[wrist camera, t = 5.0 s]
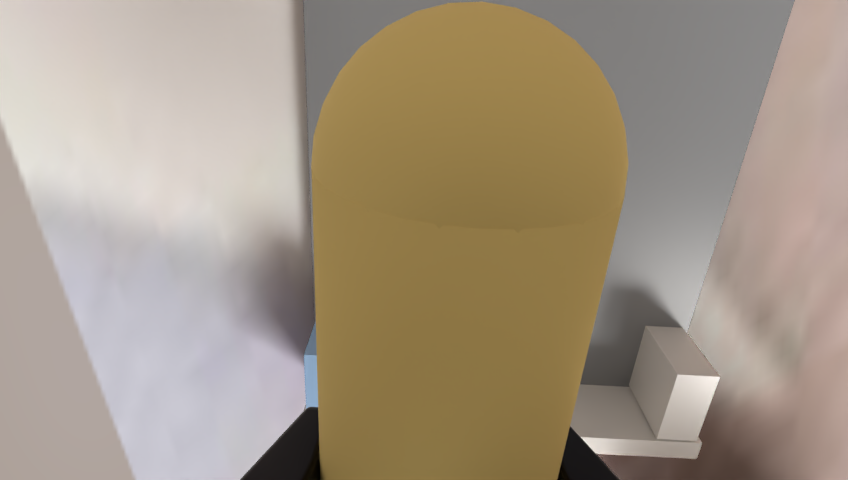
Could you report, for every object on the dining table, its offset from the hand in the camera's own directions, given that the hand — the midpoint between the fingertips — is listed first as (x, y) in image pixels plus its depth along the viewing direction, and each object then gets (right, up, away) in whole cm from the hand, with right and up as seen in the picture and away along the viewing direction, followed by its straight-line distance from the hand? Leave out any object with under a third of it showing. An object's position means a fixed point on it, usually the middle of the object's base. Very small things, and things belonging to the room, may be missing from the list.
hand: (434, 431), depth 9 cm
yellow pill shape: (0, 0, +1) cm, 1 cm away
